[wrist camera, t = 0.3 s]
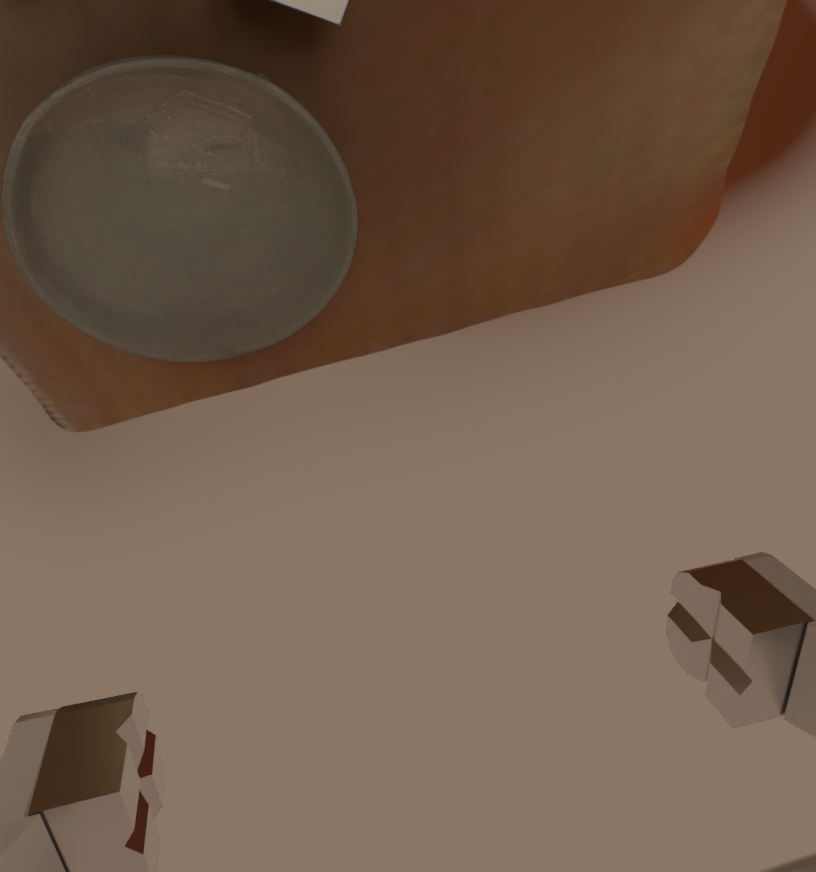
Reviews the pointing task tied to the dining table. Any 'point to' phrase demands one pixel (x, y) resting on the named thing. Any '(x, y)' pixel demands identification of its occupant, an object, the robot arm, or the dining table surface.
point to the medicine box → (319, 8)
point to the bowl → (178, 208)
